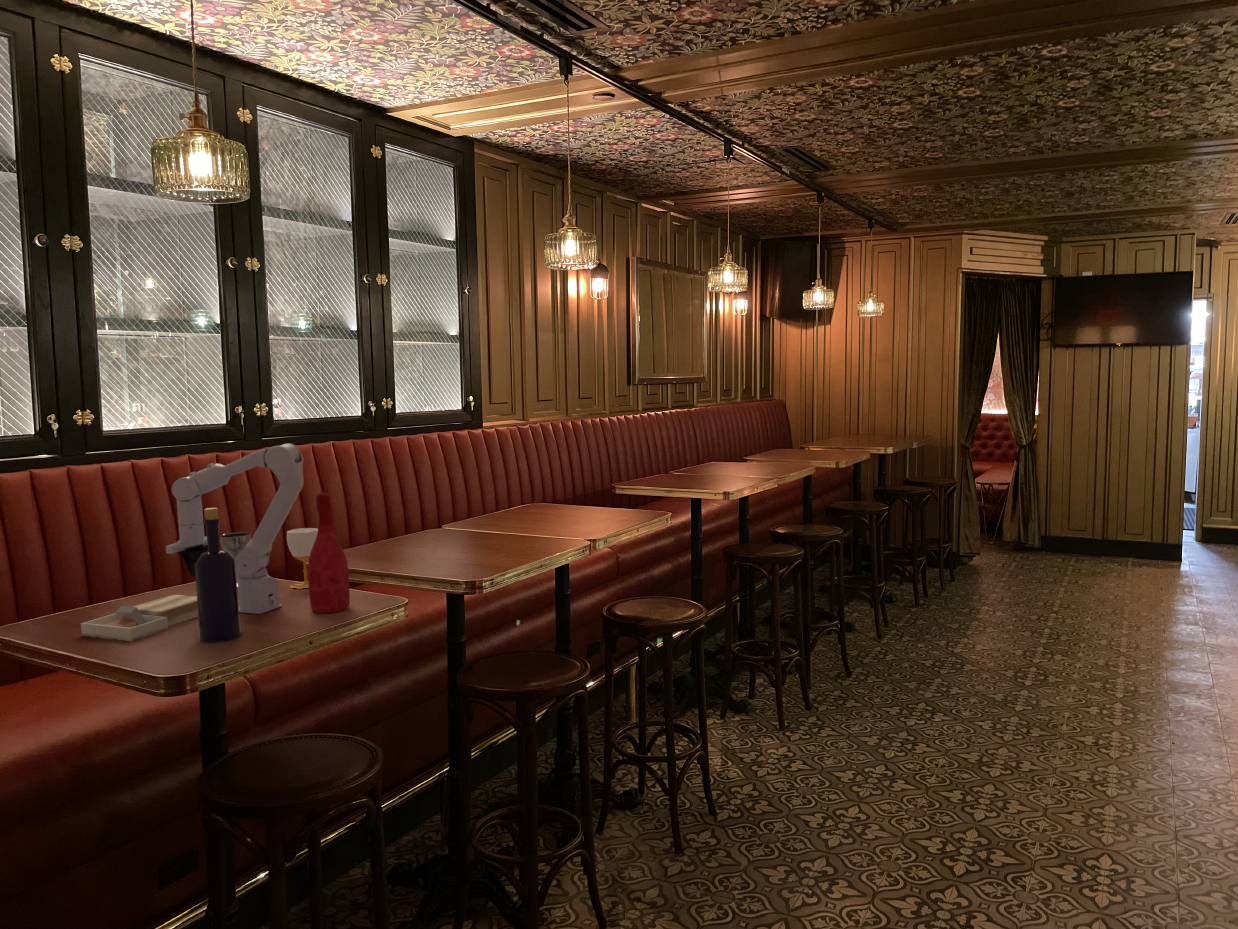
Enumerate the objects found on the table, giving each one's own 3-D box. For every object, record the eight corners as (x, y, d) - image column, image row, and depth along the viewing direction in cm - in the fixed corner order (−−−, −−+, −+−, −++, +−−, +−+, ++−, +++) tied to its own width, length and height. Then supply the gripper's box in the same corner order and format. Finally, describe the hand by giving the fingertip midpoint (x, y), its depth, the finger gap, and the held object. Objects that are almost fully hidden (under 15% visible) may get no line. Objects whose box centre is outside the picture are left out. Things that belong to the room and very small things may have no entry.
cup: (294, 591, 243) (290, 534, 242) (285, 585, 251) (281, 530, 249) (327, 585, 249) (323, 530, 247) (317, 580, 256) (313, 526, 254)
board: (209, 612, 222) (208, 597, 222) (163, 628, 209) (162, 611, 209) (174, 609, 227) (173, 594, 226) (127, 624, 214) (126, 608, 213)
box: (168, 629, 208) (167, 617, 208) (131, 641, 199) (130, 628, 199) (119, 624, 214) (118, 612, 214) (81, 635, 205) (80, 623, 204)
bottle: (211, 631, 205) (201, 506, 202) (249, 630, 205) (240, 505, 202) (190, 643, 196) (180, 512, 193) (231, 642, 196) (220, 511, 193)
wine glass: (242, 589, 248) (238, 537, 246) (218, 588, 249) (214, 537, 248) (259, 582, 255) (255, 532, 254) (235, 582, 257) (231, 532, 255)
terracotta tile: (116, 627, 202) (117, 635, 202) (135, 621, 206) (136, 629, 207) (101, 625, 204) (102, 633, 204) (120, 619, 208) (121, 628, 208)
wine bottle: (301, 613, 220) (293, 495, 217) (328, 603, 229) (321, 490, 226) (332, 616, 216) (325, 496, 213) (358, 606, 225) (351, 491, 222)
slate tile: (136, 607, 206) (130, 613, 205) (146, 622, 209) (140, 628, 208) (121, 605, 208) (115, 611, 207) (131, 620, 211) (125, 626, 209)
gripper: (201, 518, 230) (205, 569, 231) (155, 527, 216) (159, 581, 218) (222, 519, 227) (226, 570, 229) (176, 528, 214) (180, 583, 215)
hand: (195, 575), depth 223 cm, fingers closed
